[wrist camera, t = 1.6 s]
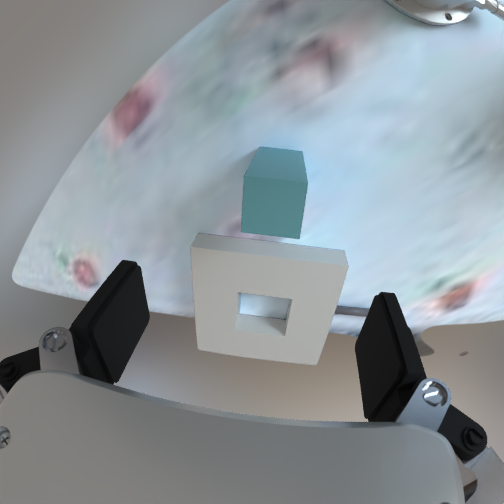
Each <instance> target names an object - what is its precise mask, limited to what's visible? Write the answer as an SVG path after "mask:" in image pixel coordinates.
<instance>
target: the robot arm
mask: <svg viewBox="0 0 504 504" xmlns="http://www.w3.org/2000/svg"><path fill="white" fill-rule="evenodd" d="M386 1H387V2H388V3H389V4H391V5H392V6H393V7H395V8H396V9H397V10H399V11H401V12H402V13H404V14H406V15H407V16H409V17H411V18H414V19H416V20H418V21H421V22H424V23H428V24H431V25H440V26H443V25H452V24H455V23H459V22H461V21H463V20H465V19H466V18H467V17H468V16H469V15H470V14H471V12H472V10H473V8H474V7H477V8H479V9H487V10H488V11H490V12H491V13H492V14H494V15H496V16H497V17H499V18H500V19H502V20H504V4H502V3H500V2H499V1H497V0H386ZM445 17H446V18H445ZM149 317H150V316H149V310H148V305H147V299H146V294H145V289H144V283H143V277H142V271H141V267H140V266H138V265H137V263H136V262H134V261H128V260H122V261H121V262H120V263H119V265H118V266H117V267H116V268H115V269H114V271H113V272H112V273H111V274H110V275H109V277H108V278H107V279H106V280H105V282H104V283H103V284H102V285H101V287H100V288H99V289H98V290H97V292H96V293H95V294H94V295H93V297H92V298H91V299H90V301H89V302H88V303H87V304H86V306H85V307H84V308H83V310H82V311H81V313H80V314H79V315H78V316H77V318H76V319H75V320H74V322H73V323H72V325H71V327H70V329H69V330H68V329H66V328H63V327H55V328H52V329H49V330H48V331H46V332H45V333H44V334H43V335H42V336H41V338H40V340H39V347H37V348H34V349H31V350H28V351H25V352H22V353H19V354H16V355H13V356H10V357H7V358H5V359H3V360H2V361H1V362H0V504H502V503H503V502H504V463H503V462H502V460H501V459H500V458H499V456H498V455H497V454H496V453H495V451H494V450H493V448H492V447H490V448H488V447H487V446H486V445H487V435H486V432H485V431H484V429H483V428H482V427H481V426H480V425H479V424H478V423H476V422H474V421H473V420H472V419H471V418H469V417H468V416H466V415H465V414H464V413H462V412H461V411H459V410H458V409H457V408H455V407H454V406H452V405H451V404H450V402H451V393H450V390H449V388H448V387H447V386H446V384H444V383H443V382H442V381H440V380H438V379H435V378H426V374H425V371H424V368H423V365H422V362H421V358H420V355H419V352H418V349H417V347H416V344H415V341H414V338H413V335H412V332H411V330H410V328H409V327H408V326H407V324H406V321H405V318H404V316H403V313H402V310H401V308H400V305H399V303H398V300H397V298H396V295H395V294H394V293H387V292H380V294H379V295H376V296H375V297H374V299H373V302H372V304H371V307H370V310H369V312H368V315H367V317H366V320H365V322H364V324H363V327H362V329H361V332H360V334H359V336H358V339H357V341H356V344H355V352H356V359H357V365H358V372H359V379H360V386H361V394H362V401H363V410H364V417H365V418H366V419H368V422H337V421H311V420H309V421H308V420H294V419H283V418H273V417H263V416H255V415H247V414H240V413H234V412H227V411H221V410H215V409H210V408H204V407H199V406H194V405H189V404H185V403H180V402H176V401H171V400H167V399H163V398H159V397H154V396H151V395H147V394H143V393H140V392H136V391H133V390H129V389H126V388H122V387H119V386H115V385H113V384H114V382H115V383H117V382H118V381H119V379H120V377H121V375H122V373H123V371H124V369H125V367H126V365H127V362H128V361H129V359H130V357H131V355H132V353H133V351H134V349H135V347H136V345H137V343H138V342H139V340H140V338H141V336H142V334H143V332H144V330H145V328H146V326H147V324H148V322H149Z"/></svg>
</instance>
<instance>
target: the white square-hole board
mask: <svg viewBox="0 0 504 504" xmlns="http://www.w3.org/2000/svg"><path fill="white" fill-rule="evenodd" d="M191 267H192V283H193V298H194V311H195V322H196V335H197V344H198V350H203V351H209V352H215V353H221V354H228V355H234V356H240V357H248V358H255V359H263V360H271V361H280V362H290V363H299V364H312V365H317V362H318V360H319V357H320V354H321V351H322V349H323V346H324V343H325V340H326V337H327V334H328V331H329V328H330V325H331V322H332V319H333V316H334V314H343V315H355V316H367V315H368V312H369V310H370V309H367V308H355V307H345V306H337V304H338V300H339V297H340V294H341V291H342V287H343V284H344V280H345V277H346V273H347V270H348V262H347V258H346V254H345V251H342V250H335V249H327V248H319V247H311V246H303V245H294V244H286V243H278V242H270V241H261V240H253V239H244V238H236V237H227V236H219V235H210V234H201V233H198V235H197V237H196V238H195V240H194V242H193V243H192V245H191ZM240 293H247V294H254V295H262V296H270V297H279V298H287V299H290V301H289V306H288V312H287V317H286V320H284V319H276V318H268V317H260V316H252V315H245V314H239V312H240Z"/></svg>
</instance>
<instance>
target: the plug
mask: <svg viewBox="0 0 504 504" xmlns="http://www.w3.org/2000/svg"><path fill="white" fill-rule="evenodd" d="M307 186H308V181H307V175H306V169H305V163H304V157H303V152H302V151H295V150H287V149H278V148H268V147H260V148H259V149H258V151H257V153H256V155H255V157H254V159H253V160H252V162H251V164H250V166H249V168H248V170H247V171H246V173H245V175H244V186H243V204H242V221H241V232H244V233H253V234H261V235H270V236H278V237H286V238H294V239H300V232H301V226H302V220H303V213H304V207H305V200H306V193H307Z"/></svg>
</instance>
